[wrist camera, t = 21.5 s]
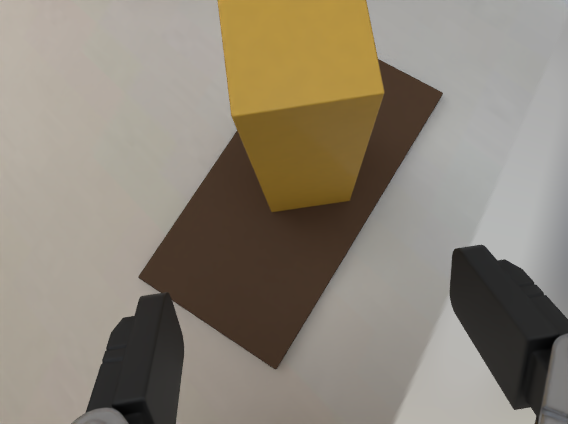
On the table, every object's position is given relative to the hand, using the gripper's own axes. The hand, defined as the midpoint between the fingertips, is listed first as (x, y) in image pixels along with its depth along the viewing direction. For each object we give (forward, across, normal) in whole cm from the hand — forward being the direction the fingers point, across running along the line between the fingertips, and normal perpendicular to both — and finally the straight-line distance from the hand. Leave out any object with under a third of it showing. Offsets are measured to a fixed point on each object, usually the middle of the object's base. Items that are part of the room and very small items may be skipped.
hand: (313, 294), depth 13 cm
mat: (+14, -1, +3) cm, 14 cm away
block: (+14, -1, +2) cm, 14 cm away
